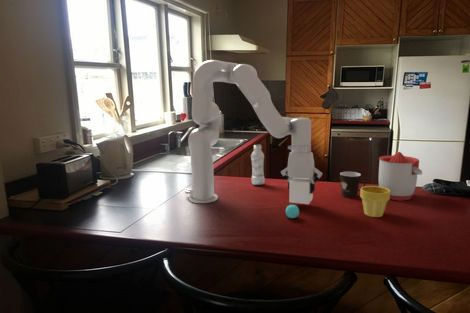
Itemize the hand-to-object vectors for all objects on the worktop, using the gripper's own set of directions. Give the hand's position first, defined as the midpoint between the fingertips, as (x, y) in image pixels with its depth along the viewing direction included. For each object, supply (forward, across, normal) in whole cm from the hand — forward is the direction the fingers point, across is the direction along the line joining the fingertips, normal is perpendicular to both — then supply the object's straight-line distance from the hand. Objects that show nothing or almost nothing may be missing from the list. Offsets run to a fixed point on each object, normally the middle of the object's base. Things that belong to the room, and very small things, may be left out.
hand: (301, 191), depth 144 cm
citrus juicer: (+7, +37, +26) cm, 45 cm away
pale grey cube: (+4, 0, 0) cm, 4 cm away
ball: (+4, 0, -13) cm, 14 cm away
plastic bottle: (+6, -27, +26) cm, 38 cm away
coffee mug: (+7, +18, +20) cm, 27 cm away
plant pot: (+7, +28, +1) cm, 28 cm away
